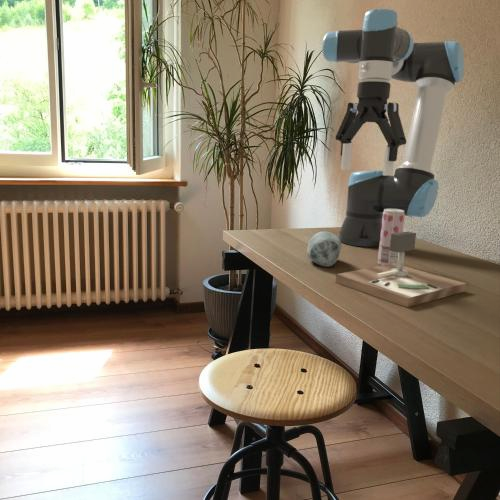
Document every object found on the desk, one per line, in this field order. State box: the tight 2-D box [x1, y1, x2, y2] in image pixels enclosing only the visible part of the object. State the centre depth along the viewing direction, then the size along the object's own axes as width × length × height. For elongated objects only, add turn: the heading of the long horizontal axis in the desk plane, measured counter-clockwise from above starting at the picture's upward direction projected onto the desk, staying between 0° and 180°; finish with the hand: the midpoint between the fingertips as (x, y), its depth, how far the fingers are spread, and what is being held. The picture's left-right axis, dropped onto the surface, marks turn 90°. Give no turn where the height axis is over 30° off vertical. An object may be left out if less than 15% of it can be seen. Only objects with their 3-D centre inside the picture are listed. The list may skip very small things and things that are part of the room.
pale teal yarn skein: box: [306, 231, 342, 268], centre depth 140 cm, size 14×10×10 cm
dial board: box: [335, 263, 467, 308], centre depth 121 cm, size 22×20×2 cm
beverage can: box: [377, 209, 405, 266], centre depth 140 cm, size 6×6×15 cm
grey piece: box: [376, 231, 417, 277], centre depth 121 cm, size 11×4×10 cm, turn 128°
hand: (365, 172), depth 128 cm, fingers open, 13 cm apart
